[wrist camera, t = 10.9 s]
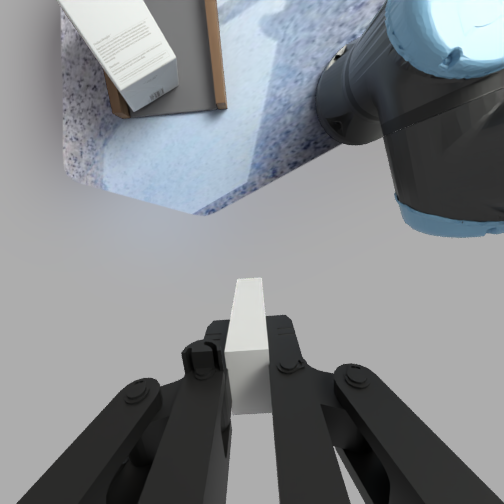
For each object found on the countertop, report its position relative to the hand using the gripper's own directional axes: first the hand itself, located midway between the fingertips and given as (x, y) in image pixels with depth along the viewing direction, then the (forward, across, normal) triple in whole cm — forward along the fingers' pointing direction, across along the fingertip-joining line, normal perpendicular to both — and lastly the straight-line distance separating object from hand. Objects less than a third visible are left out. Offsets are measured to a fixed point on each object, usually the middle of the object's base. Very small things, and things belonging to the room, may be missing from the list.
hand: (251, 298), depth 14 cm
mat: (+32, -12, +28) cm, 45 cm away
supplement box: (+27, -13, +22) cm, 37 cm away
